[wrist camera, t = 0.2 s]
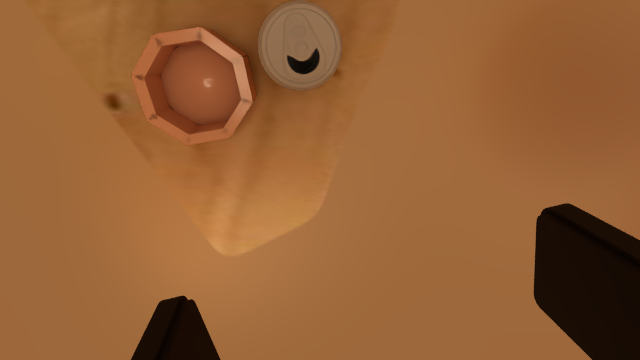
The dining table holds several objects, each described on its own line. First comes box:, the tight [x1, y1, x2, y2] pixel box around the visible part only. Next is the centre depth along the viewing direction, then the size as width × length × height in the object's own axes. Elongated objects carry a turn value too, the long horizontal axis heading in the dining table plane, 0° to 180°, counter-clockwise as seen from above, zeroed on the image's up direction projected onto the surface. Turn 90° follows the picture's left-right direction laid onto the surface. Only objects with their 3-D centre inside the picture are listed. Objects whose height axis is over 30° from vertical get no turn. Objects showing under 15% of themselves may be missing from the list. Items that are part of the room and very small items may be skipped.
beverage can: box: [258, 0, 342, 91], centre depth 30 cm, size 6×6×12 cm
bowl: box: [131, 27, 256, 145], centre depth 33 cm, size 10×10×5 cm
